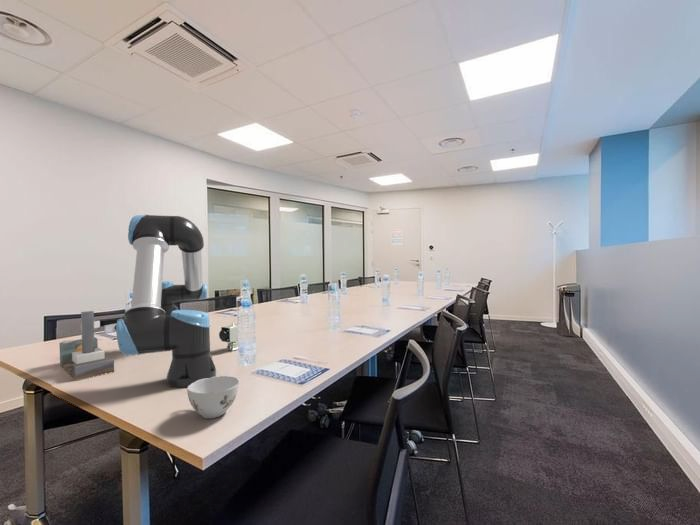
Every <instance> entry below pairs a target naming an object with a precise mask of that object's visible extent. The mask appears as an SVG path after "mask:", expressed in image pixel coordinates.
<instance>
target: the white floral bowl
mask: <svg viewBox="0 0 700 525" xmlns="http://www.w3.org/2000/svg"><path fill="white" fill-rule="evenodd" d="M239 384H240V380H239V379H238V377H235V376H228V375H220V376H218V375H216V377H211V378H209V379H208V378H205V379H201V380H198V381H196V382H194V383H192V384H191V385H189V386H188V387H187V388H186V391H187V397H188V400H189V401H188V402H189V403H190V406H192V408H193V410H194V411H195V412H196V413H198V414H199V415H200V416H201V417H202V418H204V419H215V418H219V417H221V416H222V415H225V414H226V412H227V411H228V409H229V408H230V407H231V406H232V405H233V403H234V401H235V399H236V397H237V393H238V391H239V390H238V389H239Z"/></svg>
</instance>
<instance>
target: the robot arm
mask: <svg viewBox="0 0 700 525" xmlns="http://www.w3.org/2000/svg"><path fill="white" fill-rule="evenodd" d="M127 238H128V239H127V240H128V242H129V245H131V246H132V248H133V249H134V250H135V251H136V257H135V268H134V277H133V286H132V295H131V303H130V308H128V309H127V310H126V311H125V312H124V316H120V317H114V318H113V317H112V318H102V319H96V320H94V329H98V330H99V329H101V327H103V328H104V330H103V331H104V333H105V334H106V333H112V332H116V334H115V335H116V341H117V345H118V348H119V351H120V352H121V354H123V355H125V356H135V355H137V356H140V355H145V354H146V355H147V354H153V353H163V352H171V353H172V355H171V356H172V357H171V361H170V362H171V363H170V364H169V368H168V372H167V373H166V384H167V386H169V387H175V388H185V387H188V386H189V385H191V384H192V383H194V382H196V381H198V380H201V379H205V378H208V379H209V378H211V377H216V376H217V369H216V365H215V364H214V361H213V358H212V357H213V356H212V355H211V337H210V336H211V335H210V334H211V333H210V332H211V330H210V328H211V324H210V323H211V322H210V316H209V314H208V313H207V312H206V311H202V310H193V309H180V308H179V307H178V306H177V305H175V304H174V303H175V302H177V301H178V302H179V301H180V302H181V301H197V300H205V299H206V300H207V298H208V286H207V284H206V283H203V265H202V264H203V263H202V262H203V260H202V250H203V248H204V245H205V243H204V237H203V233H202V232H201V230H200V229H199V228H198V227H197V225H196V224H195V223H193V222H192V221H191V220H190V219H188V218H186V217H184V216H179V215H154V214H153V215H152V214H151V215H149V214H137V215H134V216H133V217H132V218H131V220H130V221H129V225H128V232H127ZM170 246H177V247H178V249H179V250H180V251H181V259H182V270H183V271H182V272H183V281H184V284H174V281H172V280H166V281H165V280H163V274H164V258H165V253H166V252H168V250H169V249H170ZM80 331H81V332H82V327H81V326H80Z"/></svg>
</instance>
